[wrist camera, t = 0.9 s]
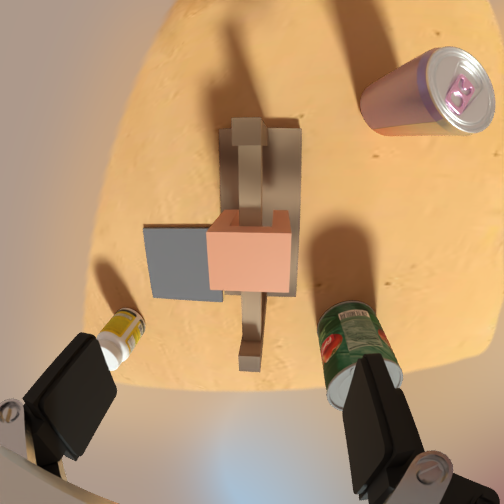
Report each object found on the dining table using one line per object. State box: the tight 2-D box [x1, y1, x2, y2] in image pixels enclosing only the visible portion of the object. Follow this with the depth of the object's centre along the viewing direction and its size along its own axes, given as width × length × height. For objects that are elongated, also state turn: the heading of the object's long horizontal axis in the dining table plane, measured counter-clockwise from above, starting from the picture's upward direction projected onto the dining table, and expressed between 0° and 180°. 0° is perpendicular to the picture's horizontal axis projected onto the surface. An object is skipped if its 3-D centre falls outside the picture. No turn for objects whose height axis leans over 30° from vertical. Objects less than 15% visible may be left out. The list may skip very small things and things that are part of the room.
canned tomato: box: [317, 301, 403, 411], centre depth 29 cm, size 8×8×11 cm
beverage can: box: [360, 46, 495, 136], centre depth 18 cm, size 6×6×15 cm
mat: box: [143, 228, 223, 302], centre depth 33 cm, size 9×9×1 cm
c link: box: [206, 210, 292, 293], centre depth 21 cm, size 4×5×6 cm
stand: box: [219, 117, 302, 372], centre depth 24 cm, size 18×8×14 cm, turn 0°
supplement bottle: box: [97, 308, 145, 371], centre depth 33 cm, size 5×5×8 cm
